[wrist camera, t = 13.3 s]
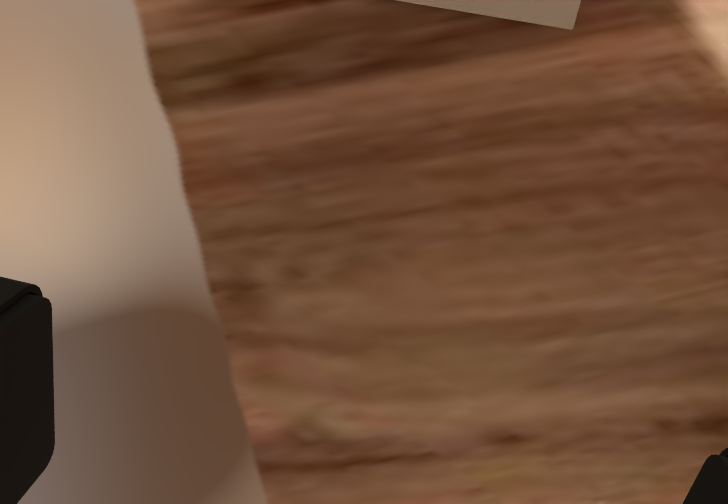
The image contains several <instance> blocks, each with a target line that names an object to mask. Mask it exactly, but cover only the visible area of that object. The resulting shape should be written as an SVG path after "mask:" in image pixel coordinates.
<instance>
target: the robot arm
mask: <svg viewBox="0 0 728 504" xmlns="http://www.w3.org/2000/svg"><path fill="white" fill-rule="evenodd" d="M52 342H53V341H52V307H51V303H50V301H49V299H47V298H44V297H43V296H42V292H41V290H40V288H39V287H38V286H36V285H34V284H29V283H25V282H21V281H17V280H12V279H8V278H4V277H0V504H17V503H18V501H19V500H20V499H21V498H22V497H23V495H24V494H25V493H26V492H27V490H28V489H29V488H30V487H31V486H32V484H33V483H34V482H35V481H36V479H37V478H38V477H39V476H40V475H41V473H42V472H43V471H44V470H45V468H46V467H47V465H48V463H49V461H50V459H51V456H52V454H53V450H54V444H55V431H54V387H53V343H52ZM683 504H728V448H726V449H725V450H723V451H722V452H721V453H720V455H711V456H709V457H708V458H707V460H706V461H705V463H704V464H703V466H702V468H701V470H700V472H699V474H698V476H697V478H696V479H695V481H694V483H693V485H692V487H691V489H690V491H689V493H688V495H687V496H686V498H685V500H684V502H683Z"/></svg>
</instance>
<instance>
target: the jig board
mask: <svg viewBox="0 0 728 504" xmlns="http://www.w3.org/2000/svg"><path fill="white" fill-rule="evenodd" d="M397 1H403V2H409V3H415V4H421V5H427V6H433V7H439V8H445V9H451V10H457V11H463V12H469V13H475V14H481V15H487V16H493V17H499V18H505V19H511V20H517V21H523V22H529V23H535V24H540V25H546V26H552V27H558V28H564V29H570V30H573V28H574V24H575V20H576V17H577V13H578V9H579V6H580V2H581V0H397Z"/></svg>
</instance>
